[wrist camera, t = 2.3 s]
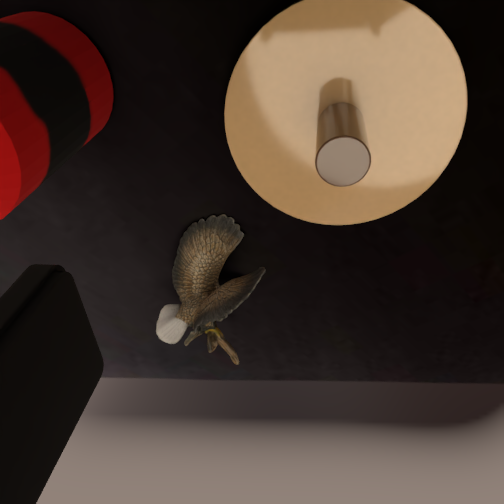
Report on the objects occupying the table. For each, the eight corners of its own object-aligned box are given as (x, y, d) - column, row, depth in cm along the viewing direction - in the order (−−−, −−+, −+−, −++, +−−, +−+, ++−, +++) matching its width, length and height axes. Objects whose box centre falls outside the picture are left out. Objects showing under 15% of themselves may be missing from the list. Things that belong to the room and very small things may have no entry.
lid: (346, -81, 21) (351, -83, 16) (512, 111, 25) (559, 158, 20) (184, 122, 28) (153, 165, 23) (335, 249, 32) (337, 310, 27)
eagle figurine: (273, 333, 36) (295, 256, 29) (207, 393, 32) (216, 320, 25) (205, 276, 39) (212, 195, 32) (137, 325, 35) (129, 244, 28)
